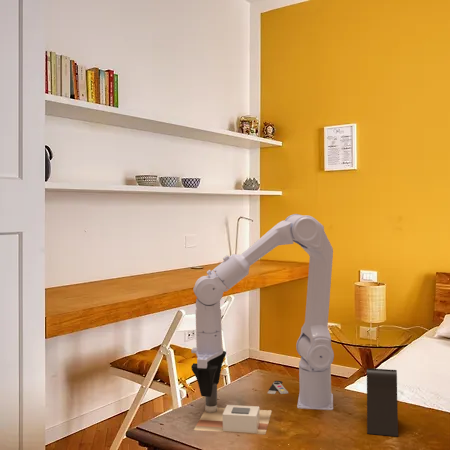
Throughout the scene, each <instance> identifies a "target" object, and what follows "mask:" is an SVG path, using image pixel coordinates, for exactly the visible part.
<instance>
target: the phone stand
mask: <svg viewBox="0 0 450 450" xmlns="http://www.w3.org/2000/svg"><path fill="white" fill-rule="evenodd" d="M398 412H399V411H398V371H397V369H389V368H388V369H386V368H385V369H383V368H370V367H369V368H368V367H366V426H367V427H366V433H367V435H377V436H388V437H389V436H390V437H399V417H398V416H399V415H398V414H399V413H398Z"/></svg>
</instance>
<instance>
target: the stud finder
mask: <svg viewBox="0 0 450 450" xmlns="http://www.w3.org/2000/svg"><path fill="white" fill-rule="evenodd" d="M224 408H225V410H224V412H223V414H222V416H223V431H231V432H247V433H257V430H258V427H259V424H260V410H261V409H260V406H259V405H257V406H256V405H255V406H254V405H236V404H226V406H225V407H224ZM231 432H230V433H231ZM247 433H246V434H247Z"/></svg>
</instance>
